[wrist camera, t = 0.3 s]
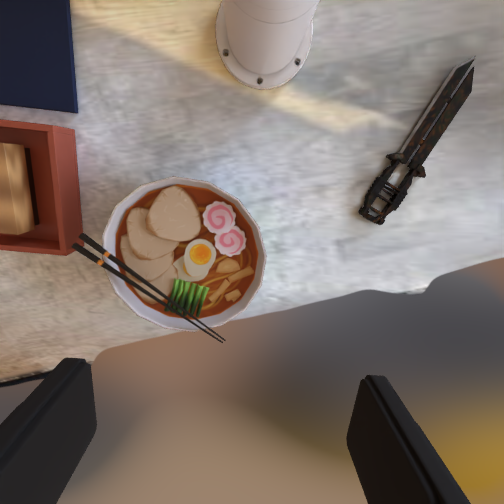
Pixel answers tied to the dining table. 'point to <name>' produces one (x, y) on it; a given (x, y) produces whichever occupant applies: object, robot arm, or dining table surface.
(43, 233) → the red open tray
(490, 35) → the dining table surface
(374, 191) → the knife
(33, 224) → the tall wooden block
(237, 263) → the ramen bowl
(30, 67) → the mat
